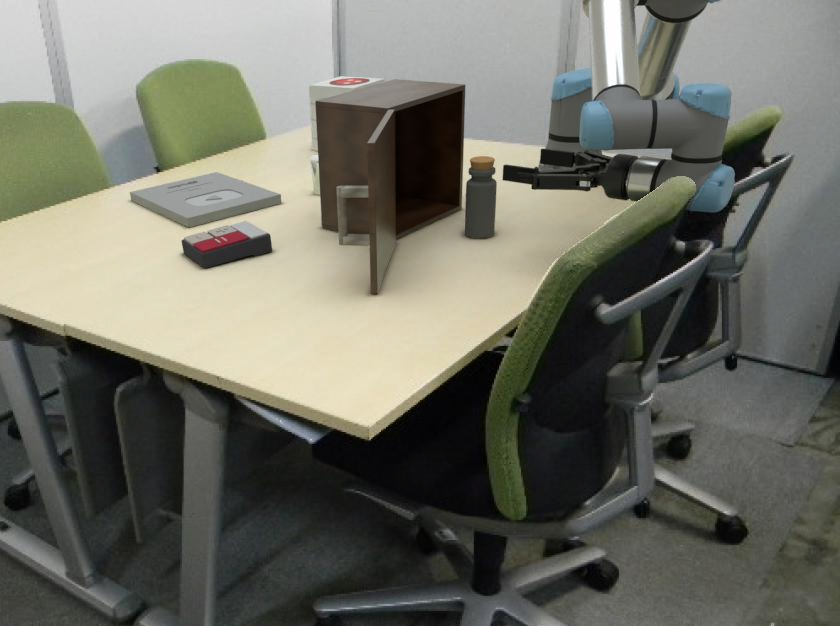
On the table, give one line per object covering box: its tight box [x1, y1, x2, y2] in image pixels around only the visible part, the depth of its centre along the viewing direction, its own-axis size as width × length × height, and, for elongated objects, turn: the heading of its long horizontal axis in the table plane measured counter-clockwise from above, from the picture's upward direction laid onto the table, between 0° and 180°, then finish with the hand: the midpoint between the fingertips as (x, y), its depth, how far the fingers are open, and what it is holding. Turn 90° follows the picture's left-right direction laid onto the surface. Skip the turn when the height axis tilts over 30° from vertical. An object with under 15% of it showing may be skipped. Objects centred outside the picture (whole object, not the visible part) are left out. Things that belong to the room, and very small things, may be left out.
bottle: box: [464, 155, 498, 239], centre depth 168 cm, size 6×6×15 cm
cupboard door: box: [337, 110, 397, 295], centre depth 153 cm, size 7×26×26 cm, turn 168°
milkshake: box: [309, 154, 320, 196], centre depth 202 cm, size 4×5×10 cm
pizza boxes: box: [308, 75, 386, 152], centre depth 233 cm, size 19×30×18 cm, turn 31°
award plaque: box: [129, 171, 282, 228], centre depth 204 cm, size 25×30×2 cm
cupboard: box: [315, 78, 466, 241], centre depth 177 cm, size 18×26×26 cm
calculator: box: [181, 220, 273, 269], centre depth 170 cm, size 11×4×15 cm
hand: (522, 163), depth 159 cm, fingers open, 13 cm apart
